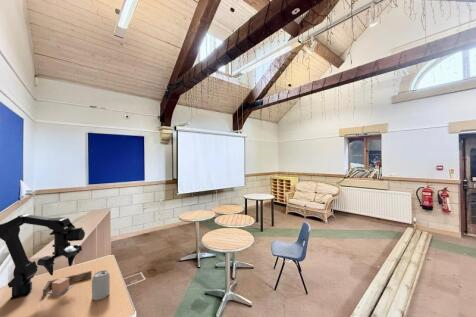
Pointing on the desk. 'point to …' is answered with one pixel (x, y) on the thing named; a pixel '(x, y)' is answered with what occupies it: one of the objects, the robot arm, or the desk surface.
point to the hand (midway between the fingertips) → (61, 270)
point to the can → (100, 285)
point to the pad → (60, 292)
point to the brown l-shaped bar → (71, 279)
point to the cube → (60, 285)
